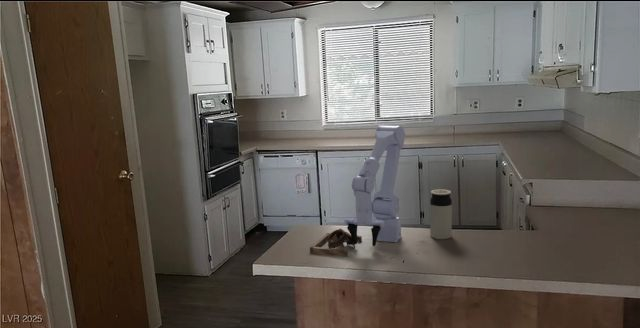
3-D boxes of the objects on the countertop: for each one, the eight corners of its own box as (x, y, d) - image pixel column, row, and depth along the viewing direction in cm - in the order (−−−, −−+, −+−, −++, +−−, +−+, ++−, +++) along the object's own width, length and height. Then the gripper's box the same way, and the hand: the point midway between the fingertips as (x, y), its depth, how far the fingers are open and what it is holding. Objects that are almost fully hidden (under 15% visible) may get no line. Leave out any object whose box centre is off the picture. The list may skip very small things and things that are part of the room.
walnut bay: (361, 240, 181) (361, 236, 181) (346, 256, 166) (346, 251, 165) (327, 237, 187) (327, 232, 187) (310, 252, 171) (309, 247, 171)
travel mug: (449, 240, 177) (450, 194, 174) (428, 238, 180) (428, 193, 177) (452, 234, 185) (453, 189, 182) (432, 232, 188) (432, 188, 185)
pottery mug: (359, 252, 170) (348, 236, 167) (336, 264, 171) (325, 248, 168) (353, 234, 181) (344, 219, 178) (332, 245, 182) (322, 230, 179)
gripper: (341, 210, 169) (342, 246, 171) (380, 212, 163) (381, 250, 165) (347, 205, 175) (348, 240, 177) (385, 207, 169) (386, 243, 172)
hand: (364, 244), depth 172 cm, fingers open, 6 cm apart
